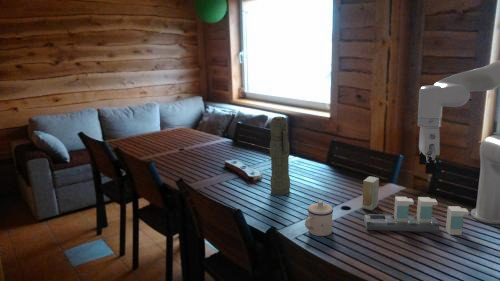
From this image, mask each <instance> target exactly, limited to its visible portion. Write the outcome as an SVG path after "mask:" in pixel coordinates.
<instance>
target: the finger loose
mask: <svg viewBox="0 0 500 281" xmlns="http://www.w3.org/2000/svg"><path fill="white" fill-rule="evenodd" d="M446 212H447V213H446V223H445V230H446V232H447V234H448V235H449V236H450V235H453V236H454V235H455V236H462V235H463V233H462V232H463V226H464V216H468V215H469V214H470V213H469V212H470V211H469V210H468V209H467V208H466V207H465V208H464V207H463V208H462V207H461V206H457V205H456V206H453V205H452V206H449V205H447V211H446Z"/></svg>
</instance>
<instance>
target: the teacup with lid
mask: <svg viewBox="0 0 500 281" xmlns="http://www.w3.org/2000/svg"><path fill="white" fill-rule="evenodd" d="M307 212H308V213H307V214H308V216H307V218H305V222H304V226H305V228H306V229H307V230H308V232H309V234H311V235H313V236H316V237H325V236H326V237H327V236H328V235H329V236H330V235H331V234H332V232H333V213H334V209H333V206H331V205H330V204H327V203H324V201H323V200H318V201H317V202H316V203H312V204H309V206H308V208H307Z"/></svg>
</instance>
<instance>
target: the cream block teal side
mask: <svg viewBox="0 0 500 281" xmlns="http://www.w3.org/2000/svg"><path fill="white" fill-rule="evenodd" d="M416 204H417V205H416V206H417V207H416V215H417V218H416V220H417V222H418V223H431V218H432V216H433V206H438V201H437V200H436V198H431V197H429V196H426V197H425V196H418V197H417V203H416Z"/></svg>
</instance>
